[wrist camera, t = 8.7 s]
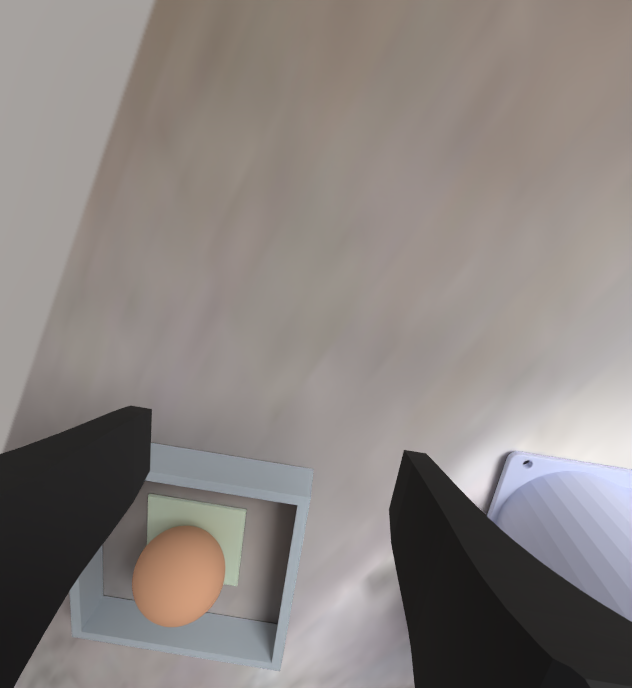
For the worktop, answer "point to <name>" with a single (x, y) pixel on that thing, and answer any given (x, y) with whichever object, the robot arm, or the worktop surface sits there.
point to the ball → (178, 576)
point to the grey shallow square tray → (228, 529)
